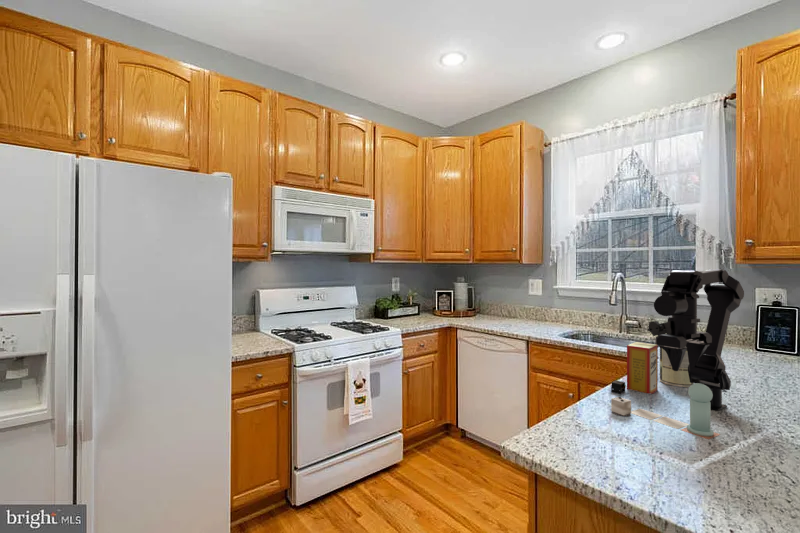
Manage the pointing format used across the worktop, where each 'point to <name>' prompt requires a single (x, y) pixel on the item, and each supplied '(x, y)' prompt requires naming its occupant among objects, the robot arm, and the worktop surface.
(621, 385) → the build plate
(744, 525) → the worktop surface
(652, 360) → the baking soda box
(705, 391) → the pawn
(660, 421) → the game board
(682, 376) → the coffee can
